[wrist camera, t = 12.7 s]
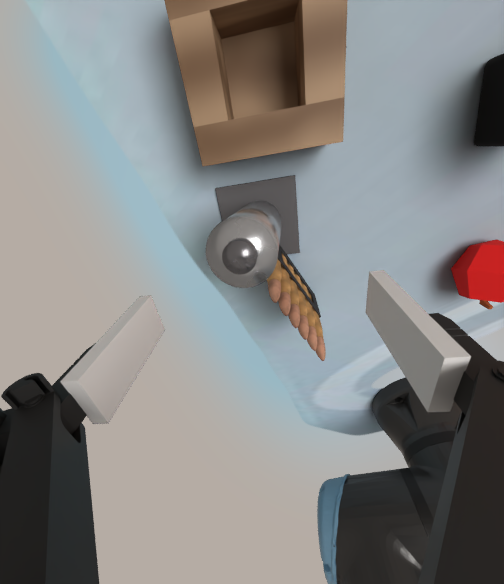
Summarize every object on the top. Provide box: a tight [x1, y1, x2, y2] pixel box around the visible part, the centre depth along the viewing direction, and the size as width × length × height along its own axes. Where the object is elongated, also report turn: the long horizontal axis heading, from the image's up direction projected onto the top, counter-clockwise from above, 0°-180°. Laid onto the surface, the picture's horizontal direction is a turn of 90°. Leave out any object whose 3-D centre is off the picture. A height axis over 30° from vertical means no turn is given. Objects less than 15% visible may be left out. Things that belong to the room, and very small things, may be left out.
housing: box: [165, 0, 347, 166], centre depth 20 cm, size 12×12×6 cm
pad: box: [216, 175, 300, 254], centre depth 29 cm, size 9×9×1 cm
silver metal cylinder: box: [206, 200, 282, 288], centre depth 23 cm, size 5×5×14 cm
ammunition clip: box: [267, 244, 325, 361], centre depth 27 cm, size 11×2×12 cm, turn 36°
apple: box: [451, 240, 504, 309], centre depth 28 cm, size 7×7×8 cm
